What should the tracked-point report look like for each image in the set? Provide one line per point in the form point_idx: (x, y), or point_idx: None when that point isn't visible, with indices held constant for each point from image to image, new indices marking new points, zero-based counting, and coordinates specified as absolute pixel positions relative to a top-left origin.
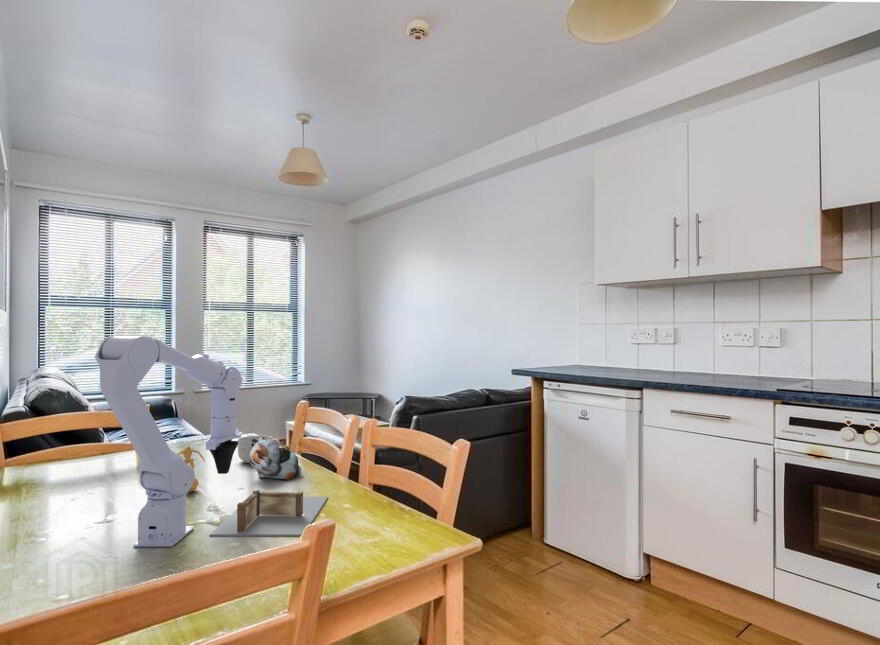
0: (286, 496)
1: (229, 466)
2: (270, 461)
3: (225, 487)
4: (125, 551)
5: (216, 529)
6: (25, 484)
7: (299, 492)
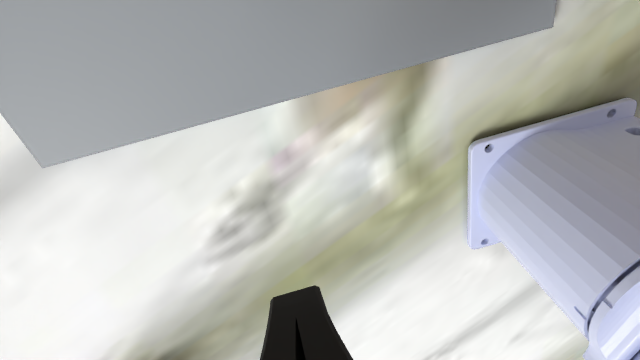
0: None
1: (287, 332)
2: None
3: (8, 346)
4: None
5: (499, 33)
6: None
7: None
